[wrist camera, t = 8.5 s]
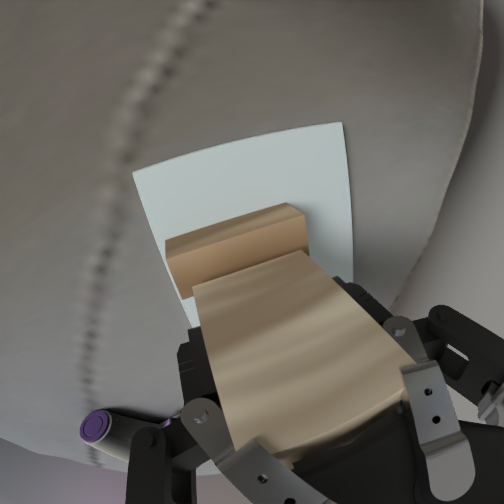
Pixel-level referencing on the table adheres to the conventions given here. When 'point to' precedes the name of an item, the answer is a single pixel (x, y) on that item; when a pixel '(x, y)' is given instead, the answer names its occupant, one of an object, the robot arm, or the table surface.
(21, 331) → the table surface
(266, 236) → the rail
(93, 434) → the infrared thermometer
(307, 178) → the silicone mat
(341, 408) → the wooden block
